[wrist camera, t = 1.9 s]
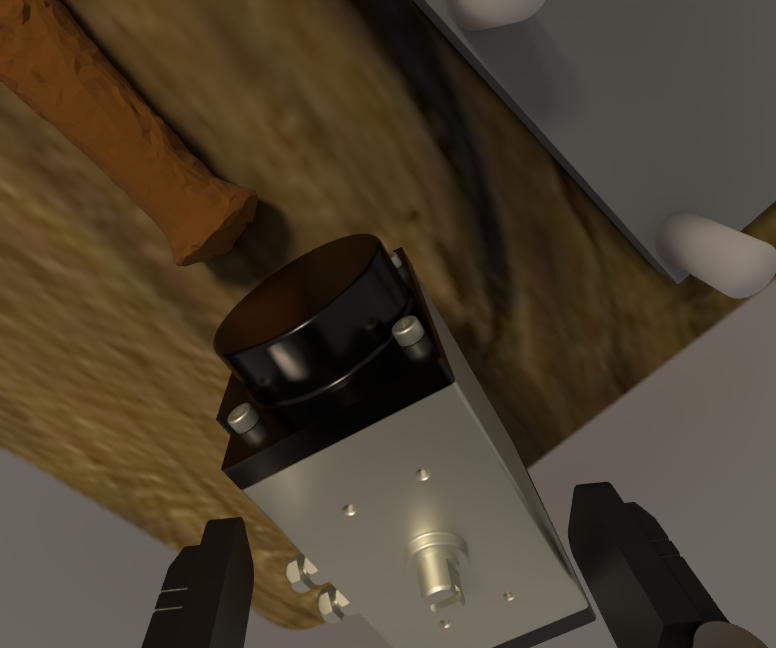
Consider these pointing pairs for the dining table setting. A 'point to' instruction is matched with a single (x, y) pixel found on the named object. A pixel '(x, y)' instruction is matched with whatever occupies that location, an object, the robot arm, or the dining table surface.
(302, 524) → the pneumatic valve
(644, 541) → the robot arm
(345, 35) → the dining table surface
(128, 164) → the primitive tool
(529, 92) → the peg board
